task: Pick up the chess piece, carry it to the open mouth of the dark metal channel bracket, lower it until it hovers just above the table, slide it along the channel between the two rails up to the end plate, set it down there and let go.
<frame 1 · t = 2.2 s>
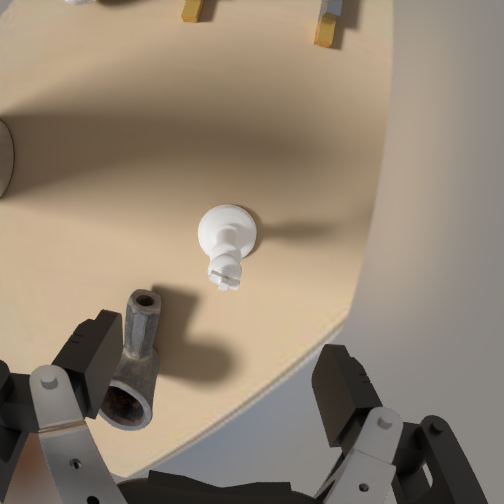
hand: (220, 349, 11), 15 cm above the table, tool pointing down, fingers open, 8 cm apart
chess piece: (227, 232, 26), on the table
pipe: (141, 337, 29), on the table
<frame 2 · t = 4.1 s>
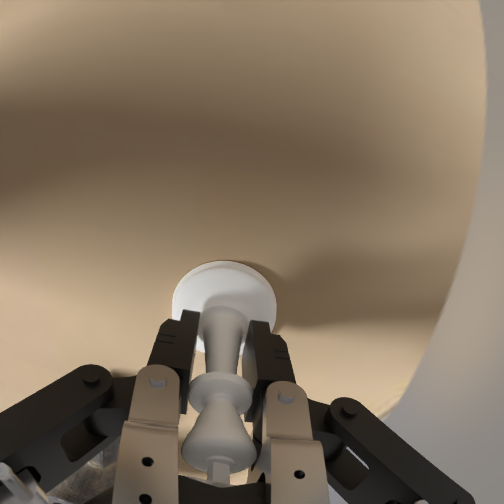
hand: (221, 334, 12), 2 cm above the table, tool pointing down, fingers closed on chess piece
chess piece: (224, 306, 14), on the table, touching gripper
pipe: (107, 424, 17), on the table
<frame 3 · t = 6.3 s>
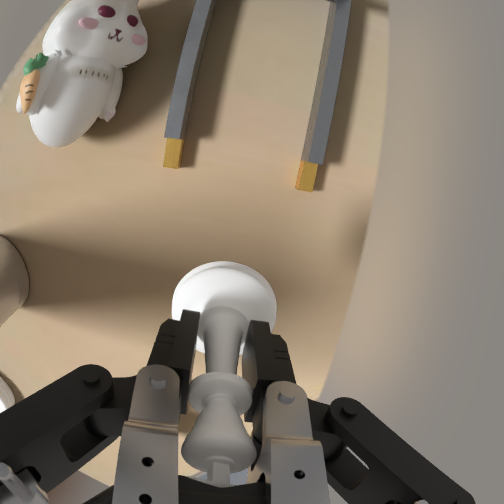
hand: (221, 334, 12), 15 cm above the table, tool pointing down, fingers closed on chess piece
chess piece: (224, 307, 14), point 13 cm above the table, touching gripper
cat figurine: (101, 68, 20), on the table
bracket: (261, 59, 21), on the table
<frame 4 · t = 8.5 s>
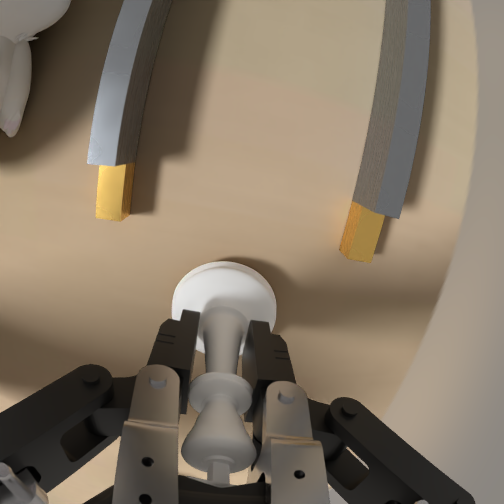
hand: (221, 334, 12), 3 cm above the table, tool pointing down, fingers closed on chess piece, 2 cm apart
chess piece: (224, 307, 14), on the table, touching gripper
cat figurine: (16, 50, 9), on the table
bracket: (280, 11, 10), on the table
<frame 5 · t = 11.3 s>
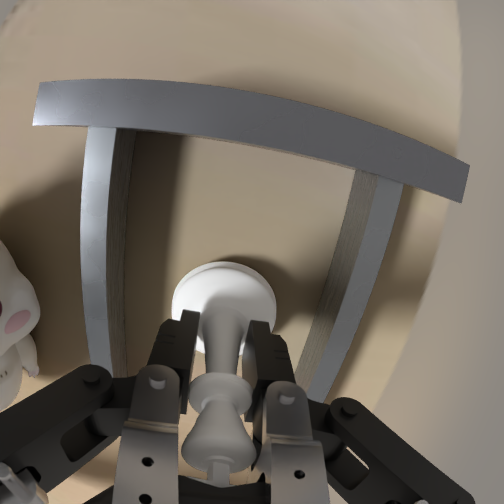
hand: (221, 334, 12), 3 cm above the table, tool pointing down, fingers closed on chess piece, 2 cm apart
chess piece: (224, 307, 14), on the table, touching gripper
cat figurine: (4, 291, 14), on the table
bracket: (218, 312, 15), on the table
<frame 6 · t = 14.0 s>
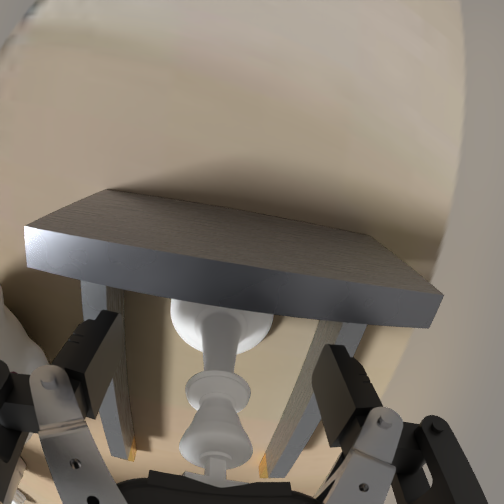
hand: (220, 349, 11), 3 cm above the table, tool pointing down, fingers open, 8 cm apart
chess piece: (222, 306, 14), on the table
round white light: (6, 483, 27), on the table
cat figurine: (13, 342, 15), on the table
bracket: (211, 374, 16), on the table
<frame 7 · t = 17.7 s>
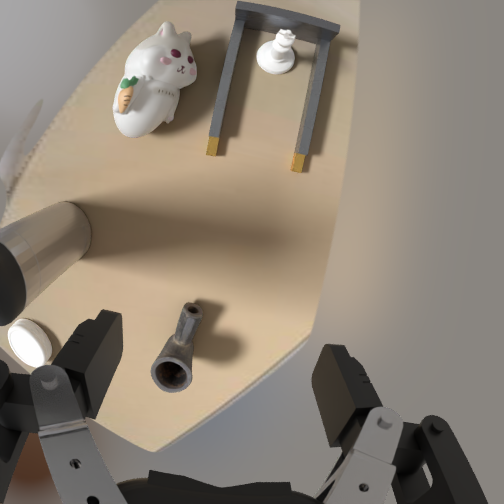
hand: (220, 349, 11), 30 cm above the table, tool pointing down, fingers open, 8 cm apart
chess piece: (275, 57, 33), on the table
round white light: (33, 338, 46), on the table
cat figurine: (160, 85, 34), on the table
pipe: (182, 331, 46), on the table
bracket: (269, 86, 34), on the table
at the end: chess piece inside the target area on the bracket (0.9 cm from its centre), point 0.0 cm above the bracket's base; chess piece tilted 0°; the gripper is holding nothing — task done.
